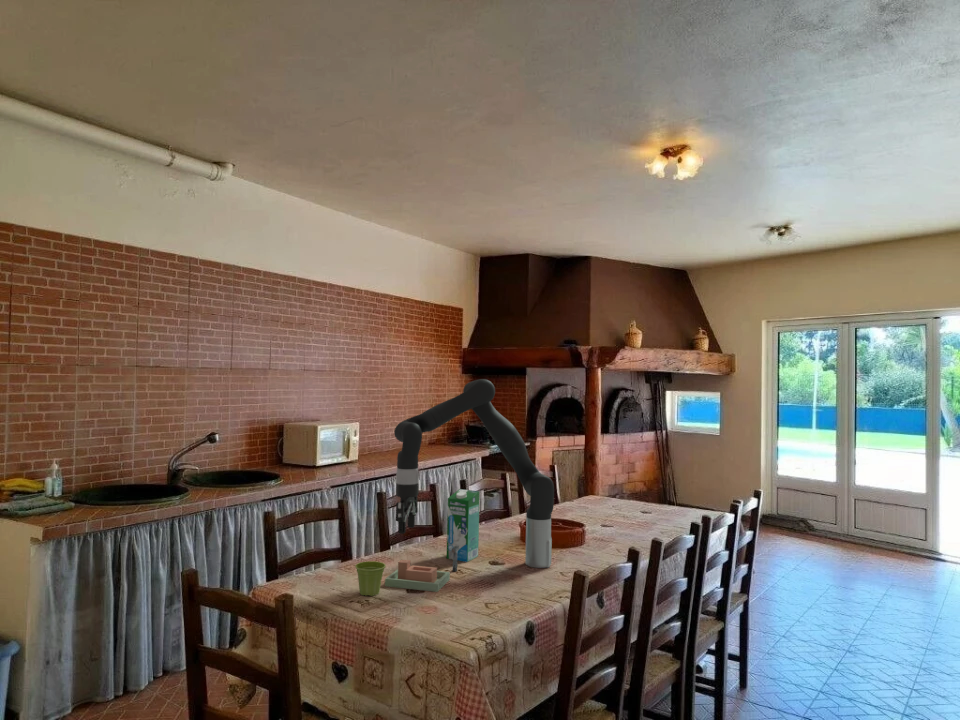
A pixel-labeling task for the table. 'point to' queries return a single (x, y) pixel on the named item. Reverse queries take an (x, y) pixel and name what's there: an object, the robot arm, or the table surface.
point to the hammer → (455, 557)
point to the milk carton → (463, 524)
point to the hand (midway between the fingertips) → (406, 530)
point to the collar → (416, 572)
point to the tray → (418, 582)
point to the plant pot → (370, 577)
